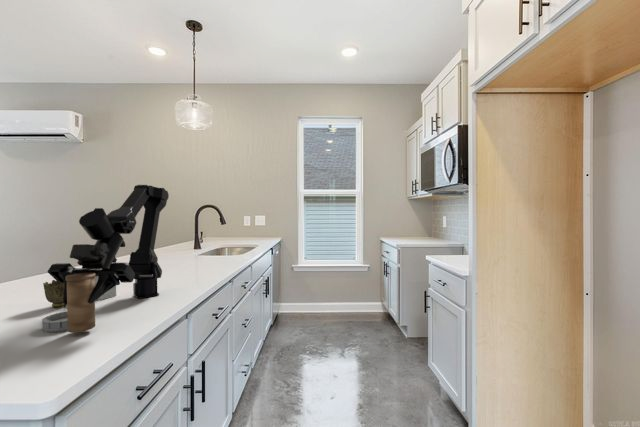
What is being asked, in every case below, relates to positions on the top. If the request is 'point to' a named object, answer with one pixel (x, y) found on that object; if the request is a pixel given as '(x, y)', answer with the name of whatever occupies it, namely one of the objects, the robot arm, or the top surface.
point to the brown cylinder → (80, 302)
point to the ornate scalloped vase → (54, 293)
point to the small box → (109, 293)
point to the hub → (55, 322)
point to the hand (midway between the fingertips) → (77, 303)
